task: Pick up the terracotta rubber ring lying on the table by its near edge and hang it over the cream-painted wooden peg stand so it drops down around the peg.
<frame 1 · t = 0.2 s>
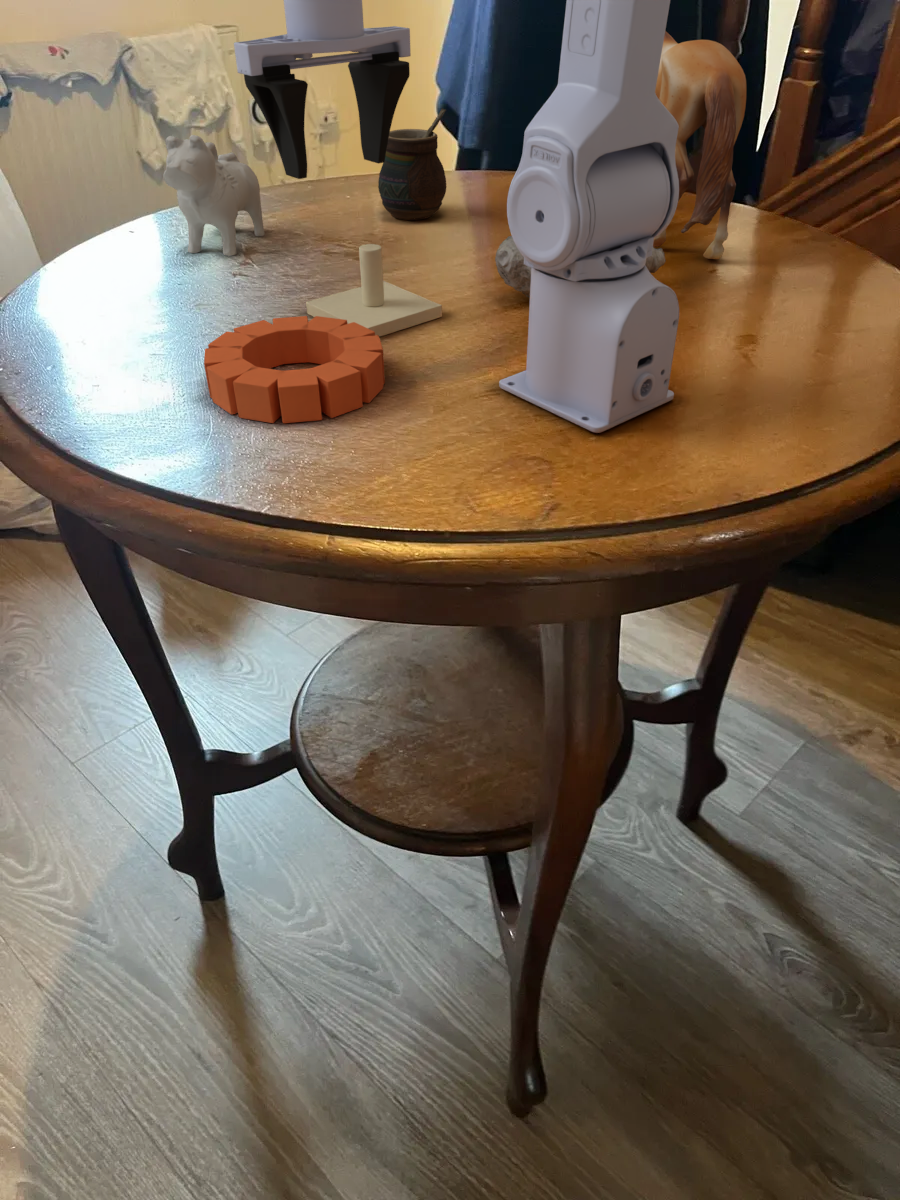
hand: (336, 168, 73), 10 cm above the table, tool pointing down, fingers open, 7 cm apart
stand: (374, 315, 74), on the table
dog figurine: (224, 247, 89), on the table
ring: (297, 383, 64), on the table
horse figurine: (628, 239, 91), on the table
mate gourd: (413, 216, 98), on the table
seashell: (577, 298, 78), on the table
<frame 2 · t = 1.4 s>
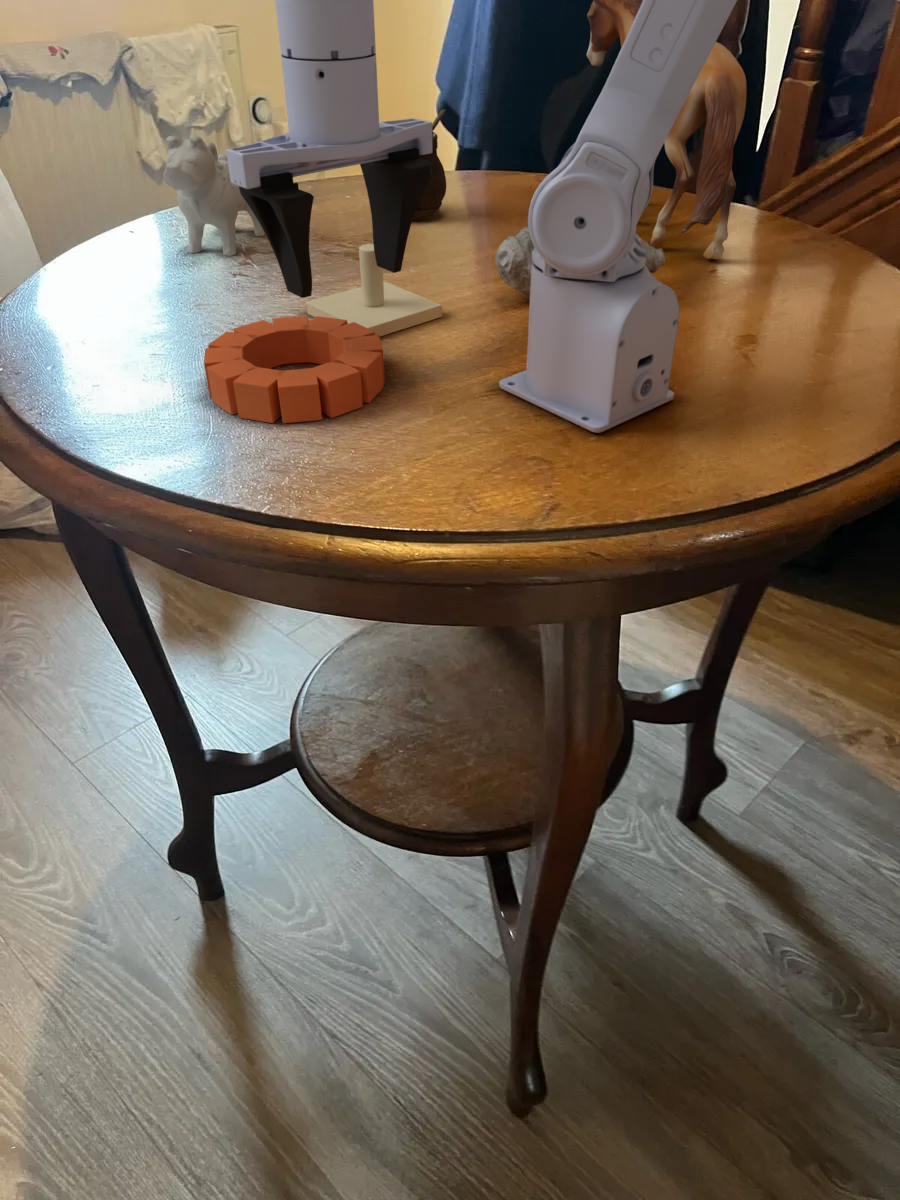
hand: (345, 280, 63), 6 cm above the table, tool pointing down, fingers open, 7 cm apart
nothing on the table moved.
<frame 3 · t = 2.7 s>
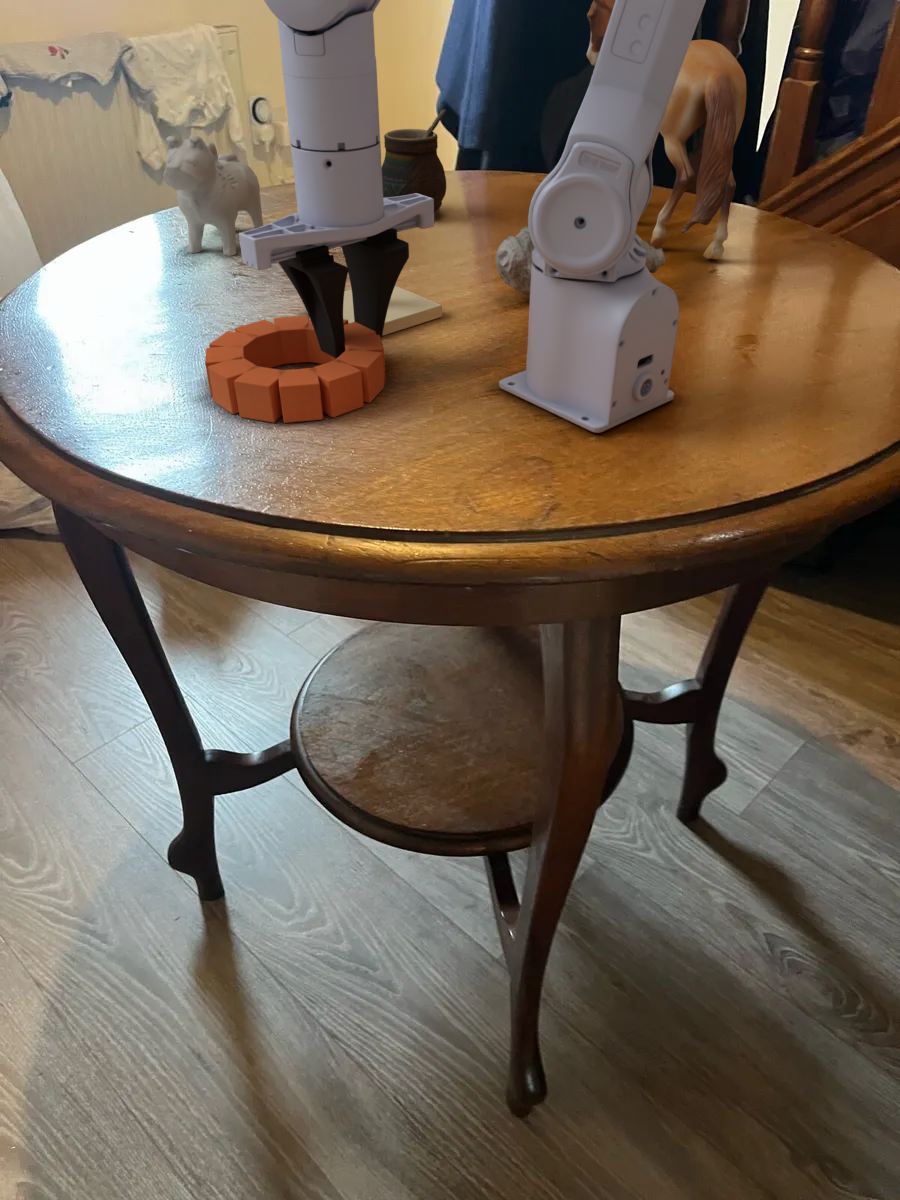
hand: (351, 346, 66), 1 cm above the table, tool pointing down, fingers closed on ring, 3 cm apart
ring: (298, 383, 64), on the table, touching gripper
everything else where it was.
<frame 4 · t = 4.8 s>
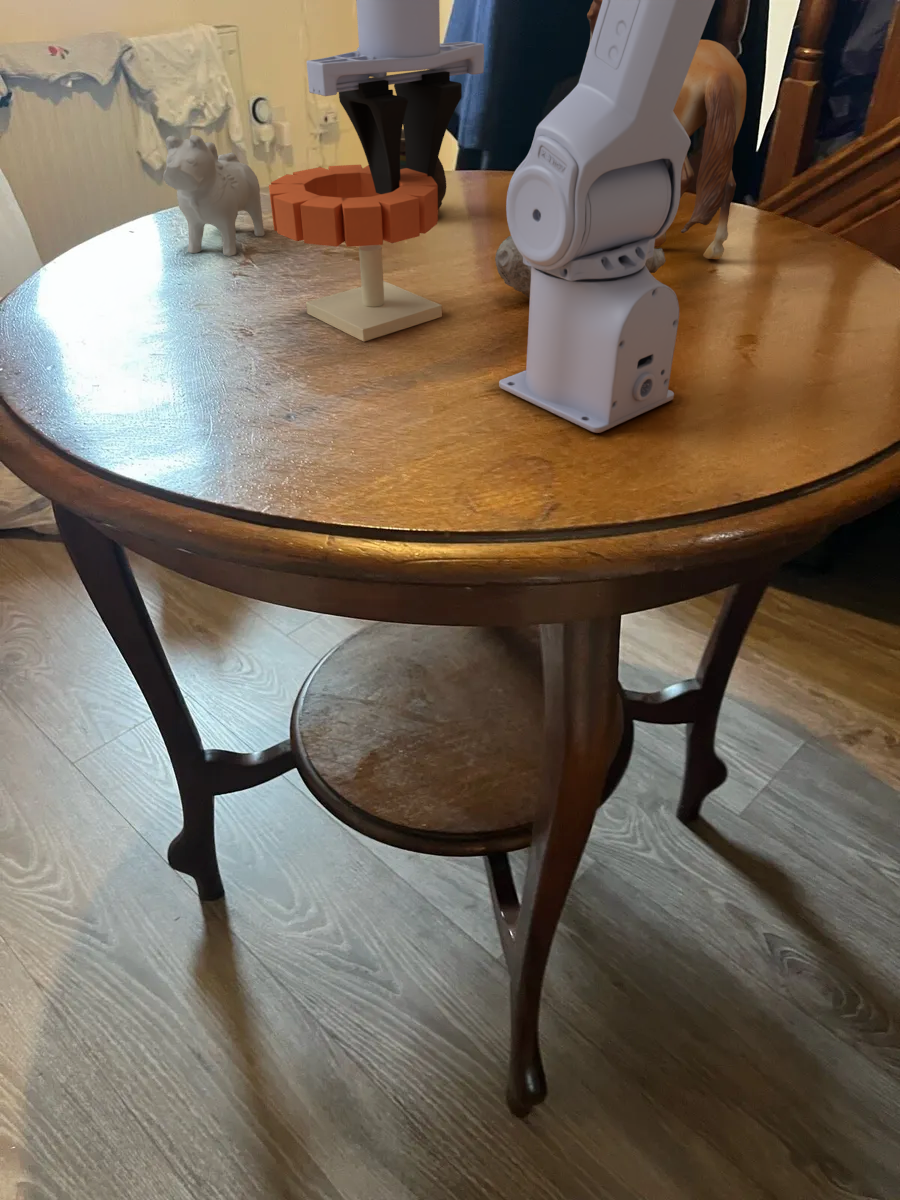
hand: (404, 190, 69), 9 cm above the table, tool pointing down, fingers closed on ring, 3 cm apart
ring: (355, 221, 68), point 8 cm above the table, touching gripper
everything else where it was.
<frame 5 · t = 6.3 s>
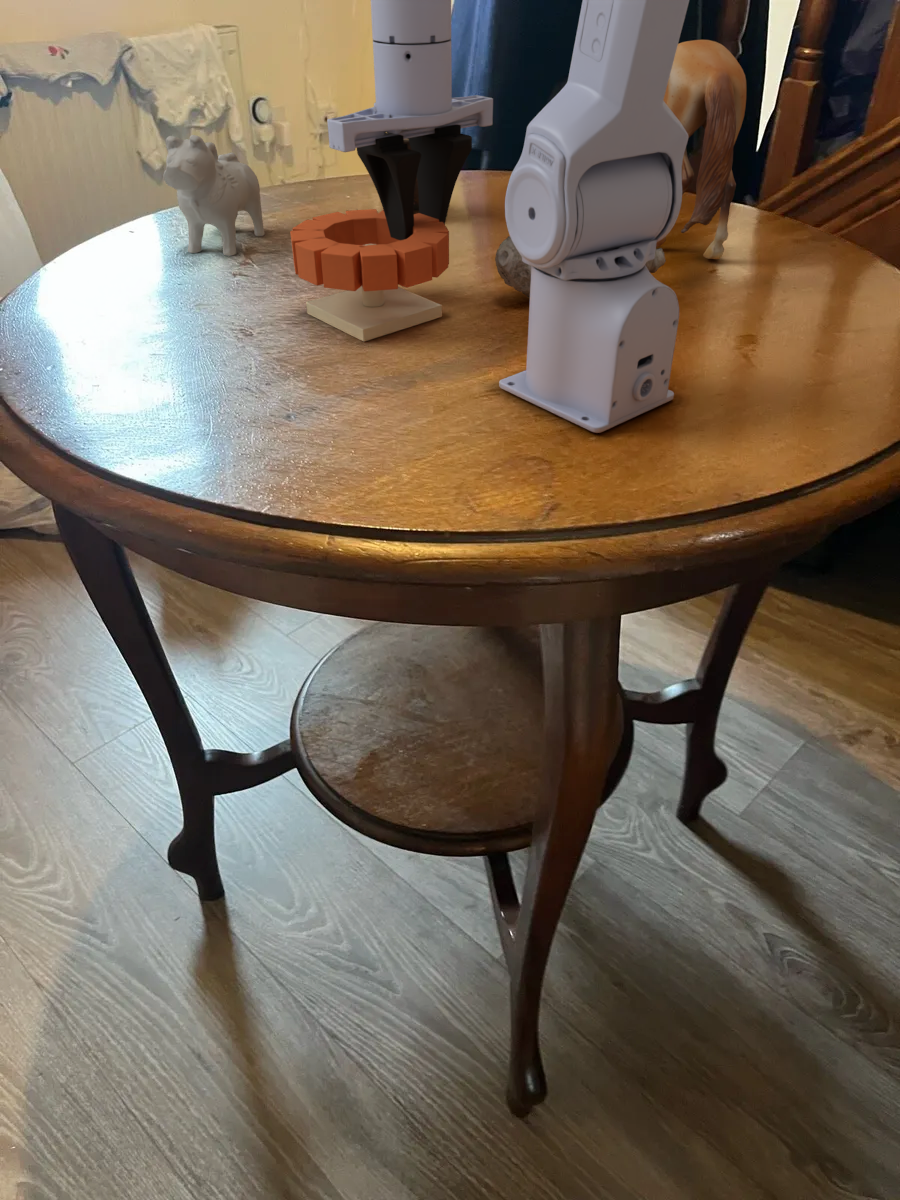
hand: (417, 234, 73), 6 cm above the table, tool pointing down, fingers closed on ring, 3 cm apart
ring: (371, 264, 72), point 4 cm above the table, touching gripper
everything else where it was.
when the fingers open (4 cm above the table, at t = 7.1 s): ring drops 1 cm, resting on stand.
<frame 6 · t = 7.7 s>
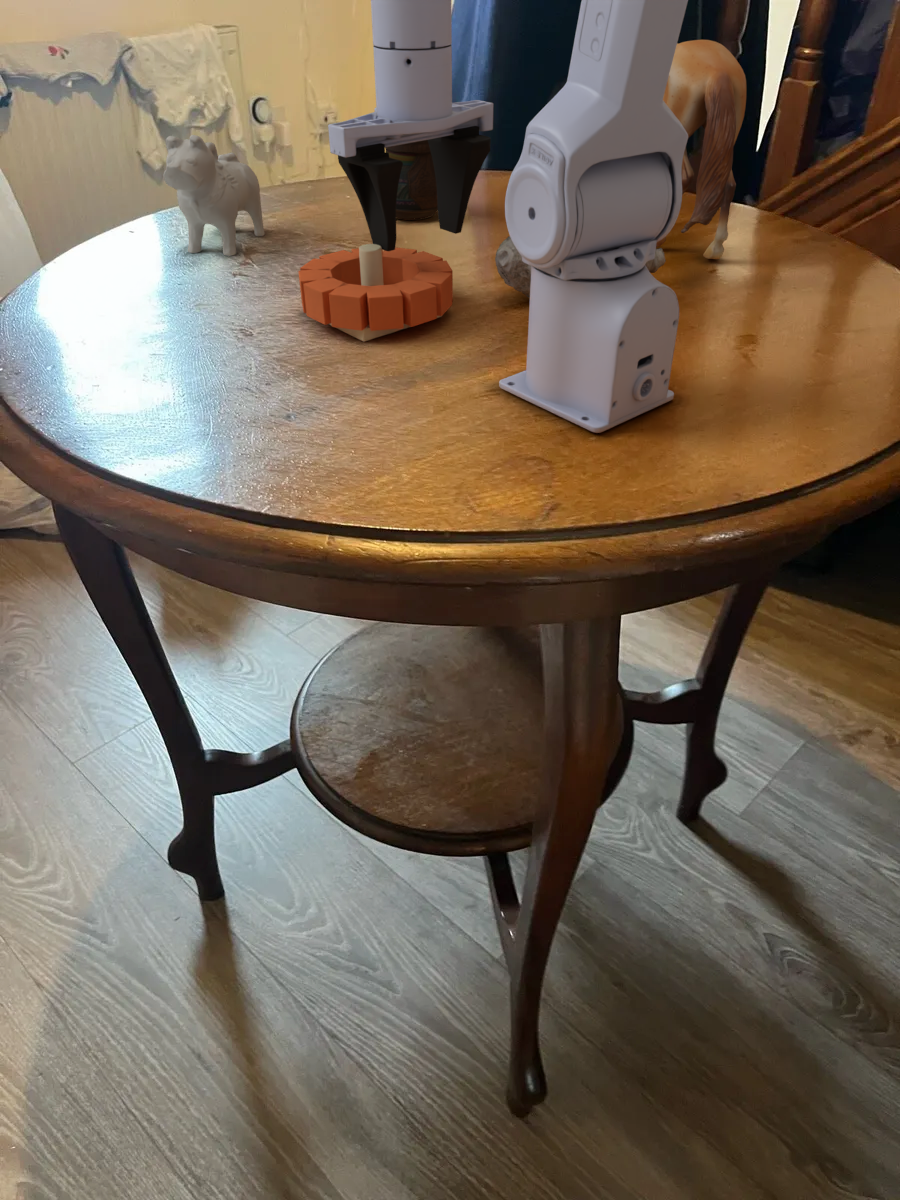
hand: (418, 239, 73), 5 cm above the table, tool pointing down, fingers open, 6 cm apart
ring: (377, 302, 74), point 1 cm above the table, touching stand
everything else where it was.
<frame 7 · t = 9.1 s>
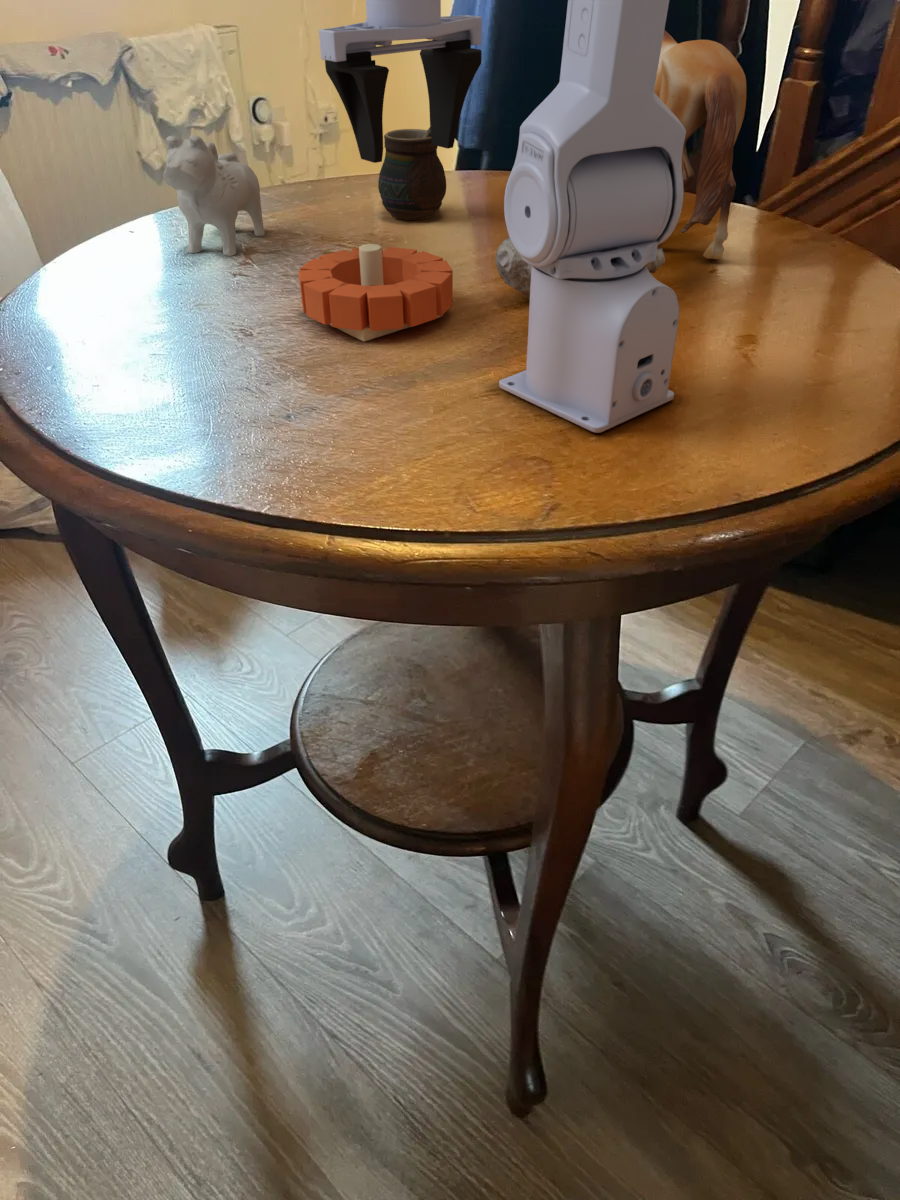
hand: (408, 153, 75), 10 cm above the table, tool pointing down, fingers open, 7 cm apart
nothing on the table moved.
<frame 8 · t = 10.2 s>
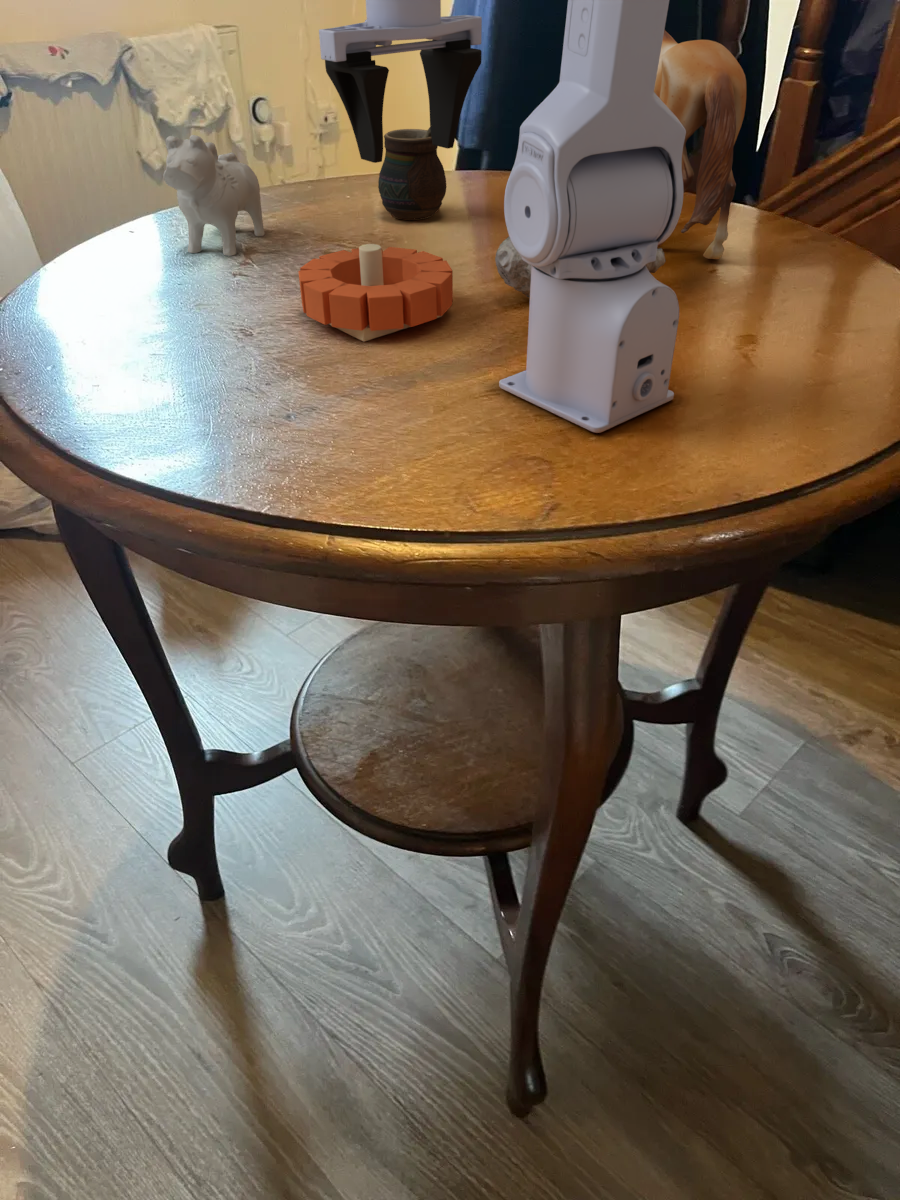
hand: (408, 153, 75), 10 cm above the table, tool pointing down, fingers open, 7 cm apart
nothing on the table moved.
at the end: ring 0.4 cm from the stand (horizontally); ring point 1.0 cm above the table; the gripper is holding nothing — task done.
